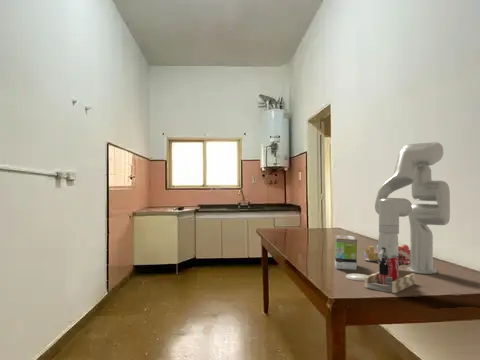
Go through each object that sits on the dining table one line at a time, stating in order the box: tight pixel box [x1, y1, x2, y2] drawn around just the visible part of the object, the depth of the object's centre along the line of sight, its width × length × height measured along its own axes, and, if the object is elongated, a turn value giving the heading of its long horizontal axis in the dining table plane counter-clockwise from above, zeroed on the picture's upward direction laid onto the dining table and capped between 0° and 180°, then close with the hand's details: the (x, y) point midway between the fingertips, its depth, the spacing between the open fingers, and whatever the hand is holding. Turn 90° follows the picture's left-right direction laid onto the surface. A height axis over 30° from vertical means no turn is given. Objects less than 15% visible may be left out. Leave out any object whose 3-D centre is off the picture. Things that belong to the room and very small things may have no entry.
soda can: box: [379, 256, 400, 286], centre depth 153 cm, size 7×7×12 cm
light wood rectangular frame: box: [364, 268, 416, 294], centre depth 153 cm, size 20×12×5 cm, turn 137°
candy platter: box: [363, 244, 410, 265], centre depth 208 cm, size 25×24×9 cm
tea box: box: [334, 234, 358, 271], centre depth 191 cm, size 15×10×15 cm, turn 168°
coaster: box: [345, 273, 369, 282], centre depth 166 cm, size 10×10×1 cm
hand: (388, 272), depth 153 cm, fingers open, 9 cm apart
